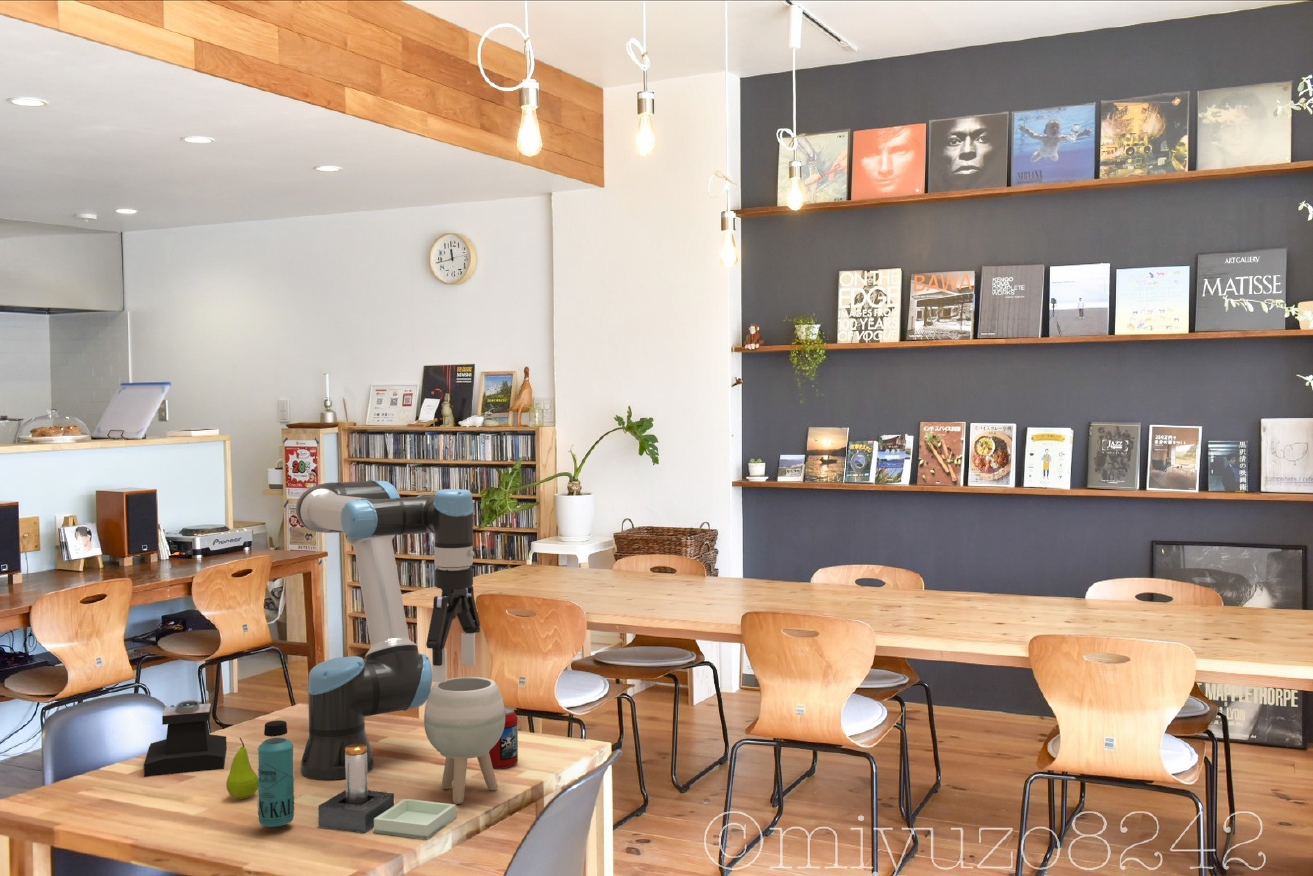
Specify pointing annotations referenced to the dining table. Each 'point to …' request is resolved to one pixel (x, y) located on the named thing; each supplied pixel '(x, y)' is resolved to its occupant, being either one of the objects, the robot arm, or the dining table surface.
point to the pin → (356, 774)
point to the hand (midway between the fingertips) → (454, 673)
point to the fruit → (241, 776)
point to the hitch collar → (354, 812)
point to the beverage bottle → (275, 777)
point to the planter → (464, 727)
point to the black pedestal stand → (186, 742)
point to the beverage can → (506, 743)
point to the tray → (415, 819)
